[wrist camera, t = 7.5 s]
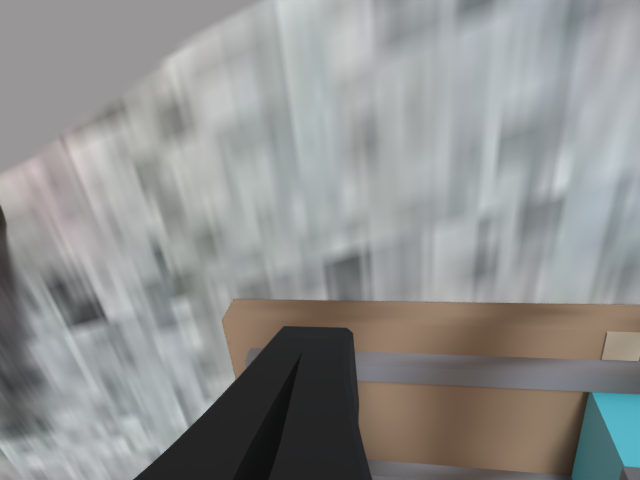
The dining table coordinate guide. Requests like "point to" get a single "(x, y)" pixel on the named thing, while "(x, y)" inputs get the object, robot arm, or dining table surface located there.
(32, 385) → the dining table surface
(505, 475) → the fader console
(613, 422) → the fader tab
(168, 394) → the dining table surface
